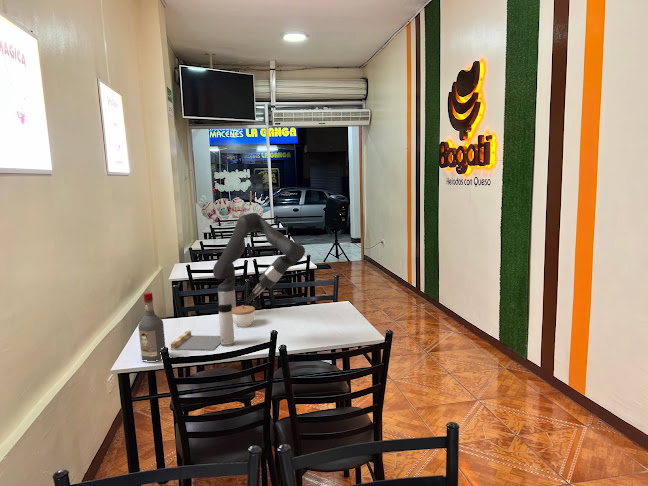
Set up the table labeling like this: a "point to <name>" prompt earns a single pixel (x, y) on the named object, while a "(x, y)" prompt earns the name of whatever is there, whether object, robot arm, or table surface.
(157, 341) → the liquor
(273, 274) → the robot arm
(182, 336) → the rail
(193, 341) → the mat
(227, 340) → the travel mug
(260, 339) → the table surface
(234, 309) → the lidded bowl
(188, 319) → the table surface
